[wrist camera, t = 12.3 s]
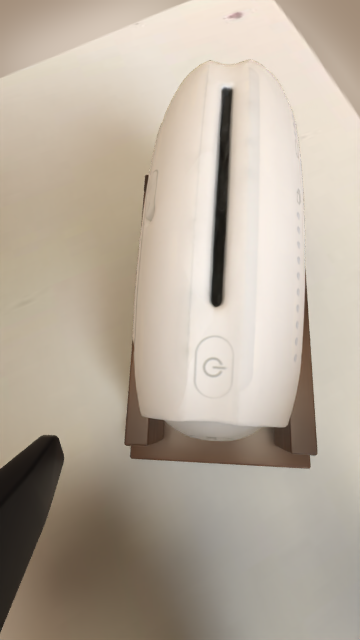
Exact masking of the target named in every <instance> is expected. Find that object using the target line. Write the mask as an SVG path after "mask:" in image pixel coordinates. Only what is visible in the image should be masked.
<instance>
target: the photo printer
mask: <svg viewBox="0 0 360 640" xmlns="http://www.w3.org/2000/svg"><path fill="white" fill-rule="evenodd" d="M304 302H305V217H304V192H303V178H302V164H301V154H300V147H299V139H298V133H297V127H296V122H295V119H294V115H293V111H292V109H291V106H290V104H289V102H288V99H287V97H286V95H285V93H284V90H283V88H282V87H281V85H280V83H279V82H278V80H277V79H276V78H275V76H274V75H273V74H272V73H271V72H270V71H269V70H268V69H266V68H265V67H264V66H263V65H261V64H259V63H258V62H256V61H253V60H246V61H243V62H240V63H237V64H229V65H227V64H220V63H217V62H214V61H211V60H210V61H207V62H205V63H203V64H201V65H199V66H198V67H197V68H195V69H194V70H193V71H192V72H191V73H190V74H189V75H188V76H187V77H186V78H185V79H184V80H183V82H182V83H181V85H180V86H179V88H178V90H177V91H176V93H175V95H174V96H173V98H172V100H171V102H170V104H169V106H168V108H167V111H166V113H165V116H164V119H163V122H162V124H161V125H160V128H159V131H158V134H157V138H156V142H155V146H154V151H153V155H152V160H151V166H150V171H149V177H148V183H147V189H146V196H145V202H144V209H143V218H142V226H141V234H140V243H139V252H138V262H137V272H136V286H135V299H134V320H133V343H134V364H135V380H136V389H137V395H138V401H139V407H140V412H141V415H142V416H144V417H148V418H153V419H159V420H165V421H166V422H167V423H168V424H169V425H170V426H172V427H173V428H174V429H176V430H177V431H179V432H181V433H183V434H185V435H187V436H190V437H193V438H198V439H202V440H210V441H232V440H237V439H241V438H244V437H246V436H248V435H250V434H253V433H254V432H256V431H258V430H259V429H261V428H262V427H286V426H287V425H288V422H289V419H290V416H291V413H292V409H293V405H294V401H295V397H296V393H297V387H298V382H299V376H300V368H301V355H302V342H303V325H304Z"/></svg>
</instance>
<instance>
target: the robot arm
mask: <svg viewBox="0 0 360 640" xmlns="http://www.w3.org/2000/svg"><path fill="white" fill-rule="evenodd" d="M63 463H64V454H63V451H62V448H61V444H60V441H59V438H58V437H57V436H55V435H43V436H41V437H39V438H38V439H37V440H36V441H34V442H33V443H32V444H31V445H29V446H28V447H27V448H26V449H24V450H23V451H22V452H21V453H19V454H18V455H17V456H16V457H15V458H13V459H12V460H11V461H10V462H8V463H7V464H6V465H5V466H3V467H2V468H1V469H0V632H1V630H2V627H3V625H4V622H5V620H6V617H7V615H8V613H9V610H10V608H11V605H12V603H13V600H14V598H15V595H16V593H17V591H18V588H19V586H20V583H21V581H22V578H23V576H24V573H25V571H26V569H27V566H28V564H29V561H30V559H31V556H32V554H33V551H34V549H35V547H36V544H37V542H38V539H39V537H40V534H41V532H42V529H43V527H44V524H45V522H46V519H47V516H48V513H49V510H50V507H51V503H52V500H53V497H54V493H55V490H56V486H57V483H58V480H59V476H60V473H61V470H62V466H63Z"/></svg>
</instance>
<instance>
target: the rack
mask: <svg viewBox="0 0 360 640" xmlns="http://www.w3.org/2000/svg"><path fill="white" fill-rule="evenodd" d="M148 177H149V175H146V176H145V185H144V198H143V209H144V202H145V196H146V189H147V183H148ZM142 218H143V211H142ZM141 226H142V224H141ZM124 443H125V445H127V446H131V453H130V457H131V458H132V459H147V460H165V461H183V462H200V463H218V464H236V465H254V466H271V467H289V468H307V469H309V468H310V467H311V466H310V455H317V438H316V423H315V408H314V393H313V377H312V362H311V347H310V331H309V316H308V301H307V286H306V270H305V302H304V325H303V342H302V355H301V368H300V376H299V382H298V387H297V393H296V397H295V401H294V405H293V409H292V413H291V416H290V419H289V422H288V425H287V426H286V427H262V428H261V429H259V430H258V431H256V432H254V433H253V434H250V435H248V436H246V437H244V438H241V439H237V440H232V441H210V440H202V439H198V438H193V437H190V436H187V435H185V434H183V433H181V432H179V431H177V430H176V429H174V428H173V427H172V426H170V425H169V424H168V423H167V422H166V421H165V420H159V419H153V418H148V417H144V416H142V415H141V412H140V407H139V401H138V395H137V389H136V380H135V364H134V343H133V339H132V352H131V365H130V378H129V391H128V404H127V416H126V429H125V442H124Z"/></svg>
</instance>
